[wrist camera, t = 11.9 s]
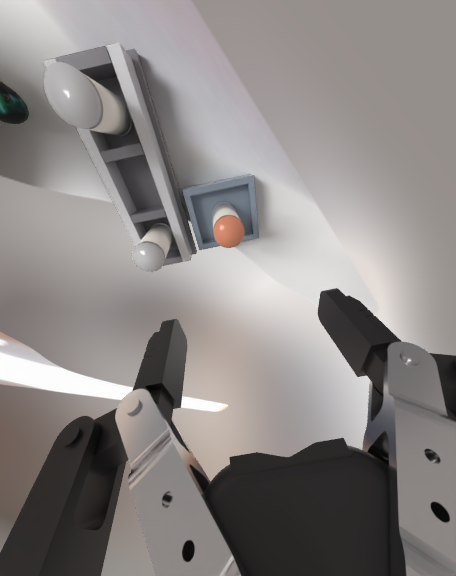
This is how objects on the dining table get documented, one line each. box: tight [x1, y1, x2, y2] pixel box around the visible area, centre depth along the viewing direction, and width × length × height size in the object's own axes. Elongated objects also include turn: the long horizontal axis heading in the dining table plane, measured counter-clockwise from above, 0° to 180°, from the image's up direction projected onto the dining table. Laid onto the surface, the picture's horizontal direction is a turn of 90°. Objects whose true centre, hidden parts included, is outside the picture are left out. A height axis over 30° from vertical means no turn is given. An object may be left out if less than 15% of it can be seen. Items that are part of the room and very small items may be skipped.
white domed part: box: [43, 62, 134, 137], centre depth 18 cm, size 4×4×9 cm
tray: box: [183, 174, 259, 250], centre depth 29 cm, size 10×9×3 cm
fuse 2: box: [132, 222, 174, 272], centre depth 26 cm, size 4×4×9 cm
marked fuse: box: [212, 201, 245, 248], centre depth 26 cm, size 4×4×9 cm
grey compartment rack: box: [43, 43, 197, 266], centre depth 25 cm, size 8×23×4 cm, turn 10°
